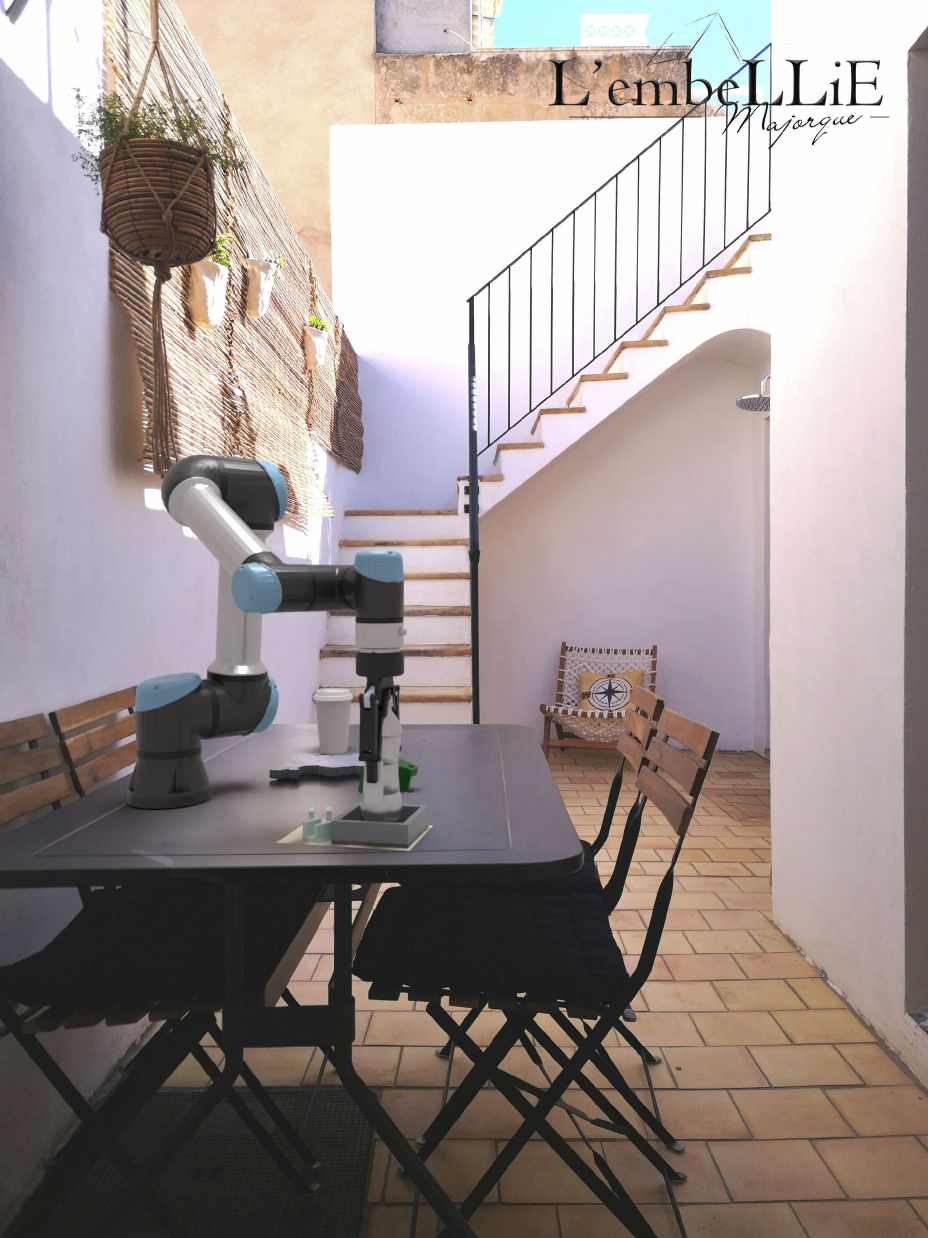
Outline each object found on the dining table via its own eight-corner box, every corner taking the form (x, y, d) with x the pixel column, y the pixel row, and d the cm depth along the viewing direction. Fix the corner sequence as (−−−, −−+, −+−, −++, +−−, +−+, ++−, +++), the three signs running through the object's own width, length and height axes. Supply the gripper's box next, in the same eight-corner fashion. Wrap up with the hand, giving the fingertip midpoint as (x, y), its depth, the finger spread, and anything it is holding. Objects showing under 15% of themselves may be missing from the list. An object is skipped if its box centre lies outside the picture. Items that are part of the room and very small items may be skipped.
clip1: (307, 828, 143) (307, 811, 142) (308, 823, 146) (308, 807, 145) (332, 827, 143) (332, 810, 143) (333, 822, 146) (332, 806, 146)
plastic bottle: (380, 815, 143) (379, 691, 142) (411, 821, 139) (410, 694, 138) (351, 823, 138) (350, 695, 137) (382, 830, 134) (381, 698, 133)
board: (276, 849, 135) (276, 842, 135) (311, 825, 148) (311, 819, 148) (409, 857, 130) (409, 850, 130) (432, 831, 144) (432, 825, 144)
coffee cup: (311, 749, 218) (310, 688, 217) (349, 747, 221) (349, 687, 220) (316, 756, 209) (316, 693, 208) (357, 754, 212) (356, 691, 211)
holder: (331, 844, 134) (331, 821, 134) (357, 823, 146) (357, 802, 145) (408, 848, 131) (407, 825, 131) (428, 827, 143) (428, 805, 143)
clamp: (384, 820, 168) (381, 783, 163) (360, 809, 171) (356, 772, 166) (421, 786, 176) (420, 749, 172) (398, 775, 179) (395, 739, 175)
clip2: (301, 838, 137) (301, 821, 137) (317, 834, 139) (317, 817, 139) (318, 843, 134) (318, 826, 134) (333, 839, 136) (333, 822, 136)
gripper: (384, 655, 127) (385, 814, 128) (419, 646, 146) (420, 785, 147) (335, 654, 129) (336, 812, 130) (375, 645, 148) (377, 783, 148)
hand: (381, 797), depth 138 cm, fingers closed on plastic bottle, 6 cm apart
